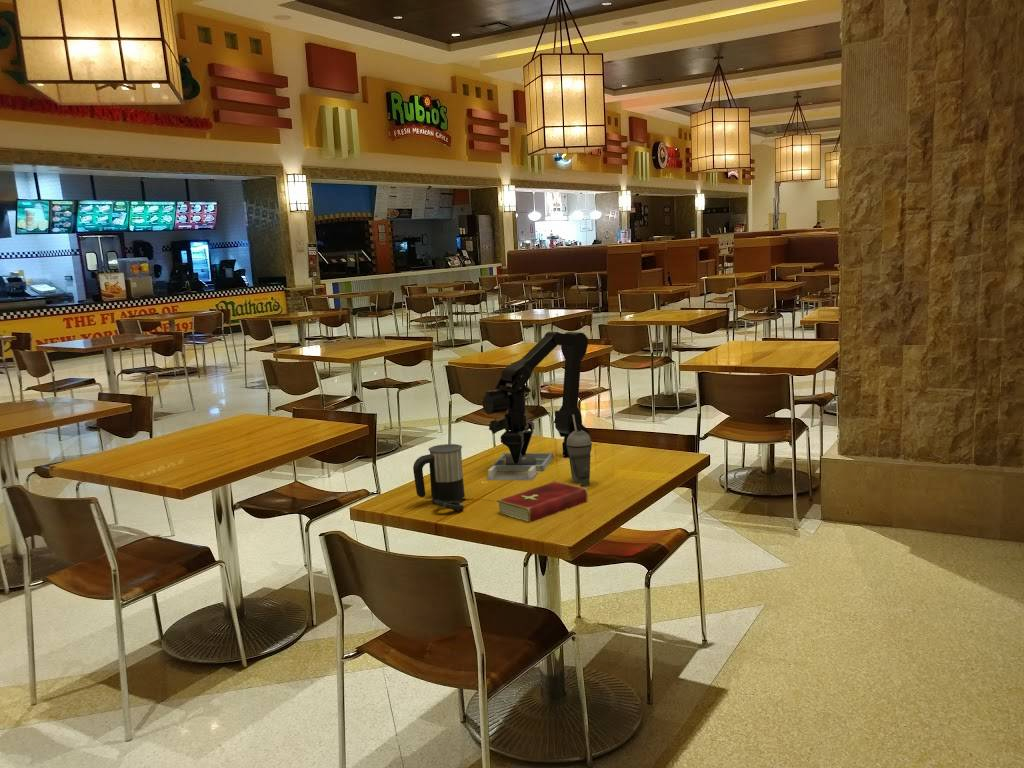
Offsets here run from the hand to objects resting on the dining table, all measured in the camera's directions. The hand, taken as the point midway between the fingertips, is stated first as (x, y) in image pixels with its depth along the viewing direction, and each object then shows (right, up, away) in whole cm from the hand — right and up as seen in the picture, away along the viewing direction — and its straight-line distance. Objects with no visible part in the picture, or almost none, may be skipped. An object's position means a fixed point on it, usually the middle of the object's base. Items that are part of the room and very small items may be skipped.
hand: (519, 459), depth 251 cm
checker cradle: (-2, -5, -9) cm, 11 cm away
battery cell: (0, -3, 0) cm, 3 cm away
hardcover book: (+6, -10, -36) cm, 38 cm away
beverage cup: (+17, -6, -18) cm, 26 cm away
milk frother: (-19, -10, -29) cm, 36 cm away
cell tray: (+1, -3, +4) cm, 5 cm away
